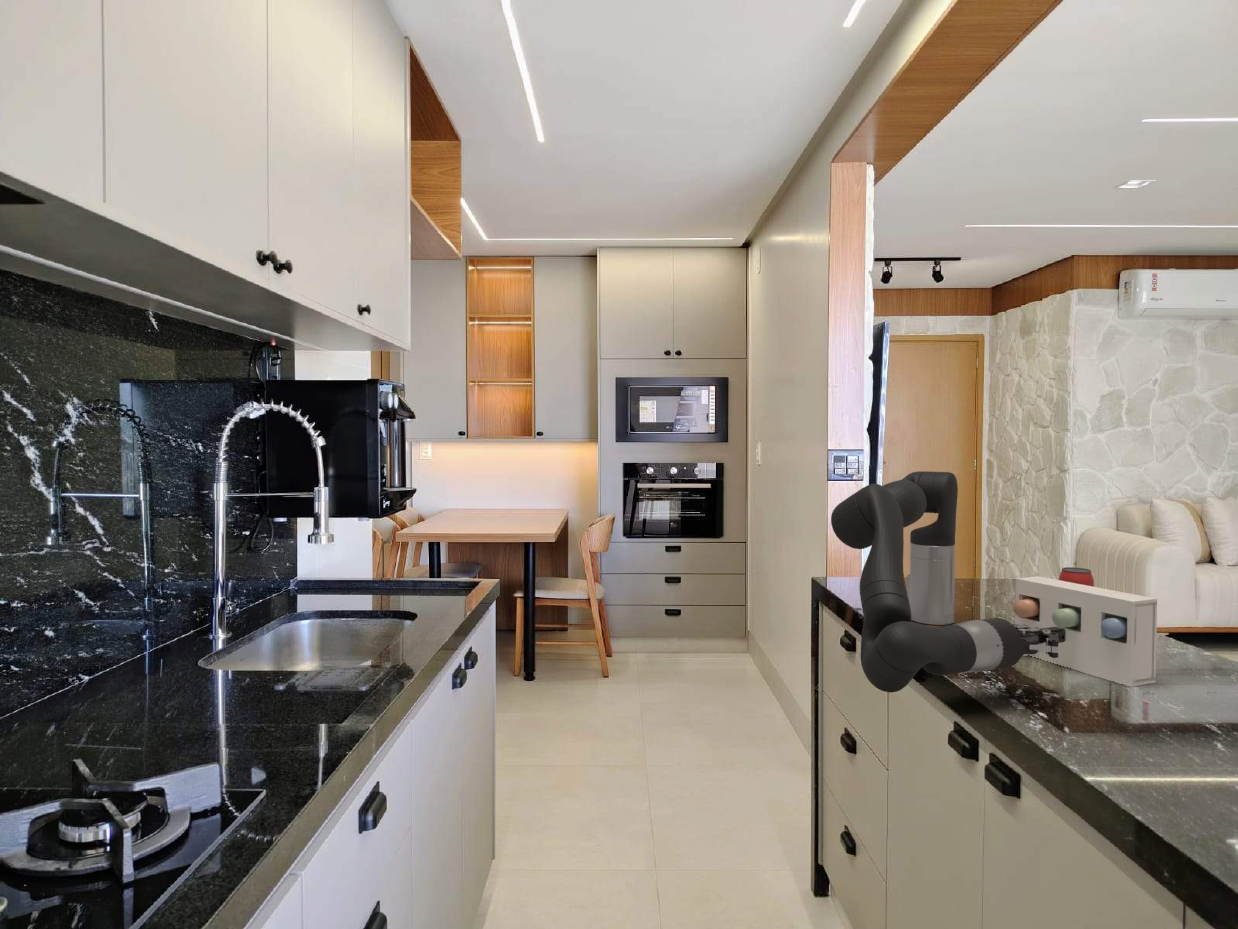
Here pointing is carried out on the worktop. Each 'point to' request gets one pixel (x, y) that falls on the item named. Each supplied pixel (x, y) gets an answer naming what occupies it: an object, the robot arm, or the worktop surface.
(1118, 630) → the blue button
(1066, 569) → the beer can
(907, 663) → the robot arm
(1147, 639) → the console
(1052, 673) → the worktop surface
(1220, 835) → the worktop surface
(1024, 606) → the terracotta button
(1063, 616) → the sage button
